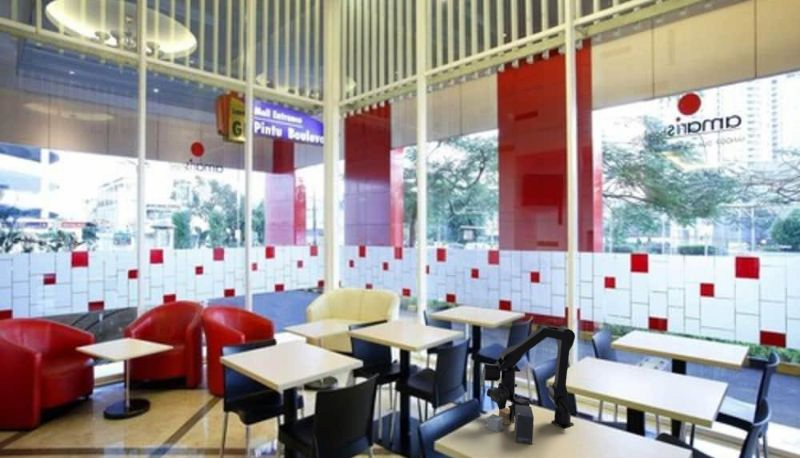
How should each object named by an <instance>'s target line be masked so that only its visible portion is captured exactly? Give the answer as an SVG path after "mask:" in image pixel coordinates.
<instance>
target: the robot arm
mask: <svg viewBox="0 0 800 458" xmlns="http://www.w3.org/2000/svg"><path fill="white" fill-rule="evenodd" d="M546 338H550V339H555V342H556V344H557V345H556V346H557V351H556V363H555V364H556V365H555V372H554V381H553V383H552V384H549V385H548V392H547V394H548V396H549V399H550V400H551V401H552V403H553V405H554V406H555V408H554V419H552V420H551V423H552V424H554V425H556V426H559V427H561V428H562V429H566V428H569V427H572V426H574V422H571V421H572V420H571V417H572V415H571V414H573V413H574V410H575V407H574V406H573V405H572V404H570V402H569V393H568V390H567V389H568V388H567V377H568V368H569V358H570V350H571V349H572V348H573V346H574V342H575V338H576V334H575V332H574V330H572V329H570V328H568V327H567V326H564V325H561V326H557V327H556V326H547V325H541V326H539V328H538V329H536V330H535V331H533V332H532V333H531V334H529V335H528V336H527V337H525V338H524V339H523V340H521V341H519V343H517V344H515V345H512V346H509V347H507V348H505V349H503V350H502V351H501V352H500V355H499V358H497V360H496V362H495V364H494V363H485V362H484V364H483V367H482V370H481V371H482V380H483V381H485V382H488V381H489V382H498V381H499V380H500V382H498V385H497V386H495V387H491V388H488V389H487V391H486V396H487V397H489V398H490V400H491V402H494V403H496V405H497V408H498V409H499V410H500V409H504V408H508V409H510V421H513V419H514V417H515V405H521V406H522V405H523V406H530V407H531V405H530V402H529V400H528V399H525V398H522V397H520V398H517V397H518V394H517V393H516V388H517V387H518V384H517V383H516V373H518V372H519V373H520V372H521V371H522V370H521V368H519V367H518V363H519V362H520V361H521V359H522V357H523V356H524V355H525V354H526V353H528V352H529V351H531V350H532V349H533V348H534V347H536V346H538V345H539V344H540V343H541V342H542V341H544V340H545V339H546ZM516 398H517V399H516ZM507 402H510V403H511V404H510V405H507ZM506 406H507V407H506ZM499 410H498V411H499Z"/></svg>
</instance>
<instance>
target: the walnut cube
mask: <svg viewBox="0 0 800 458" xmlns="http://www.w3.org/2000/svg"><path fill="white" fill-rule="evenodd" d="M498 412H499V413H498V416H500V417H503V425H511V424H513V423H514V424H515V417H514V419H513V421H510V409H509V407H505V408H504V409H500V410H498Z"/></svg>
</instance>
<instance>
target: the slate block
mask: <svg viewBox="0 0 800 458" xmlns="http://www.w3.org/2000/svg"><path fill="white" fill-rule="evenodd" d="M486 420H487V421H486V424H487V425H486V429H487V430H490V431H493V432H496V433H498V432H500V431H501V430H503V427H504V423H503V417H500V416H499V415H497V414H494V413H492V414H490V415H489V416H487V418H486Z"/></svg>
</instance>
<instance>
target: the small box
mask: <svg viewBox="0 0 800 458" xmlns="http://www.w3.org/2000/svg"><path fill="white" fill-rule="evenodd" d="M532 408H533V407H532V406H531V405H530V406H523V405H522V406H521V405H515V423H514V427H513V432H514V439H515V443H522V444H527V445H533V441H534V437H533V436H534V421H535V420H534V419H535V418H534V413H533V409H532Z"/></svg>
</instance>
